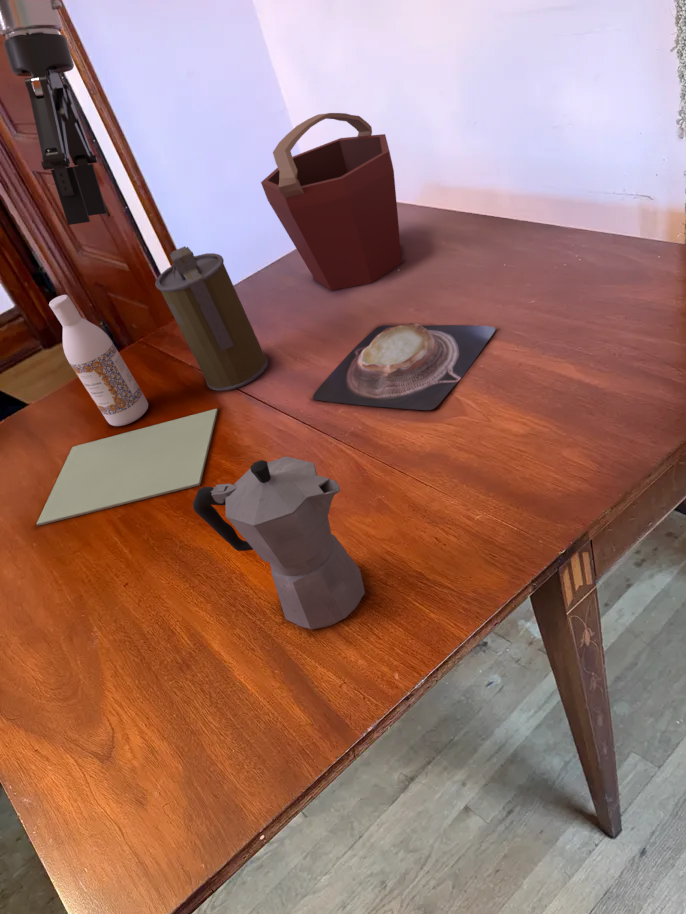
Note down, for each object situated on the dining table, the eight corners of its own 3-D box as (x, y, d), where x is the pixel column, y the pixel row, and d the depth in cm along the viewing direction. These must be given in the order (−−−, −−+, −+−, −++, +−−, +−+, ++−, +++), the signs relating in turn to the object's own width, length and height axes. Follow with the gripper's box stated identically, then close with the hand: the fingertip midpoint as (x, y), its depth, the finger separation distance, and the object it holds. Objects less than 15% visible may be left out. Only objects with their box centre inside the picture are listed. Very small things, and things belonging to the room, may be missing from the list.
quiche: (498, 329, 108) (493, 304, 105) (434, 413, 97) (427, 387, 94) (379, 325, 118) (371, 302, 116) (309, 400, 107) (299, 377, 105)
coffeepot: (393, 560, 79) (339, 424, 67) (373, 631, 73) (310, 495, 61) (264, 565, 84) (192, 439, 72) (235, 632, 78) (151, 506, 66)
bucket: (344, 310, 125) (290, 155, 109) (272, 289, 140) (215, 149, 123) (444, 243, 134) (409, 90, 118) (367, 230, 149) (326, 92, 132)
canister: (201, 373, 123) (141, 257, 109) (259, 346, 124) (206, 229, 111) (214, 401, 115) (152, 279, 101) (276, 372, 116) (222, 249, 103)
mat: (37, 526, 102) (36, 524, 102) (73, 448, 115) (72, 446, 115) (200, 485, 99) (198, 483, 99) (218, 410, 112) (216, 408, 112)
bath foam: (101, 429, 118) (25, 315, 104) (122, 403, 122) (52, 290, 109) (136, 426, 115) (63, 309, 102) (157, 399, 120) (90, 284, 106)
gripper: (40, 18, 83) (101, 223, 93) (83, 43, 105) (128, 207, 115) (-30, 26, 82) (39, 232, 92) (27, 50, 104) (78, 214, 114)
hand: (88, 218), depth 104 cm, fingers open, 13 cm apart
